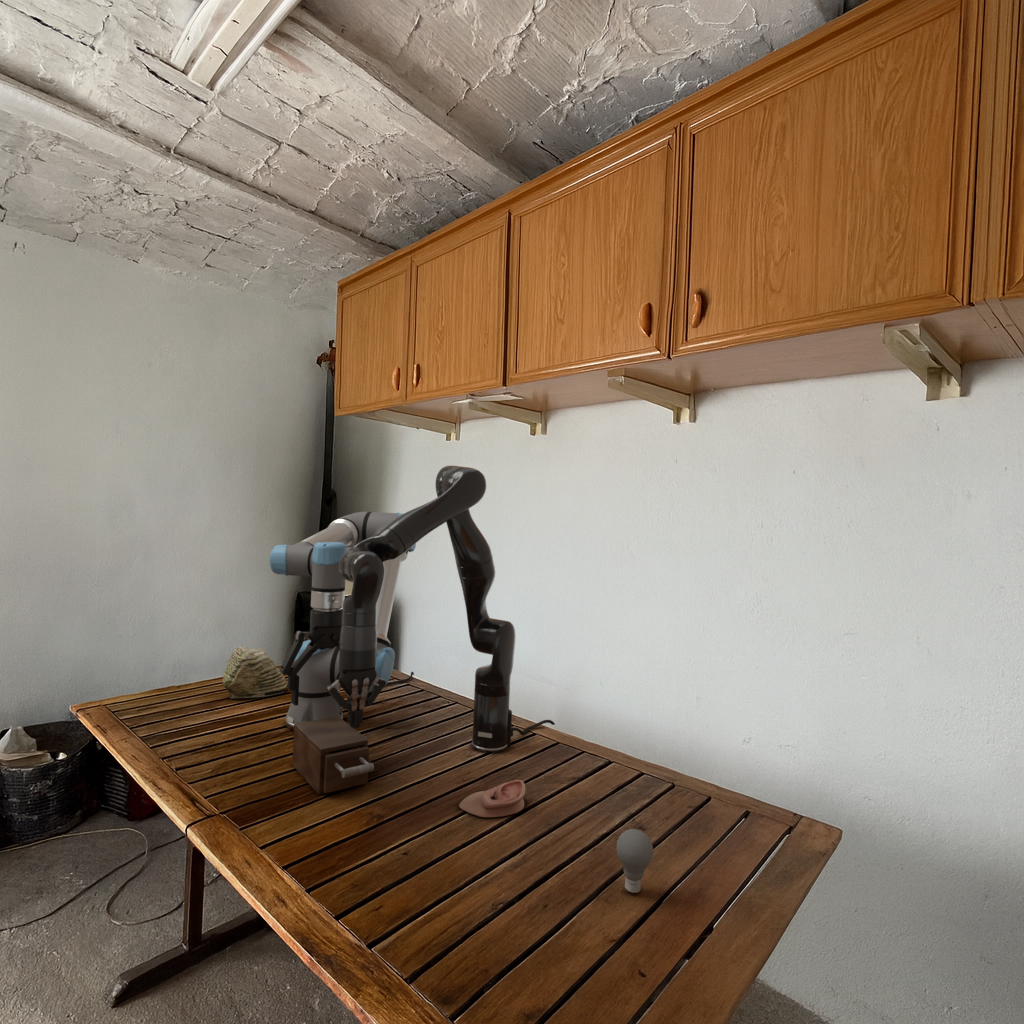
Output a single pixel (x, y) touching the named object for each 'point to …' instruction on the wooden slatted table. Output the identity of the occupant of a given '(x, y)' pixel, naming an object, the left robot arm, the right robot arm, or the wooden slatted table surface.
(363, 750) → the drawer
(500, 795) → the anatomical model
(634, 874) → the light bulb
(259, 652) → the fossil
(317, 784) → the cabinet
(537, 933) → the wooden slatted table surface
